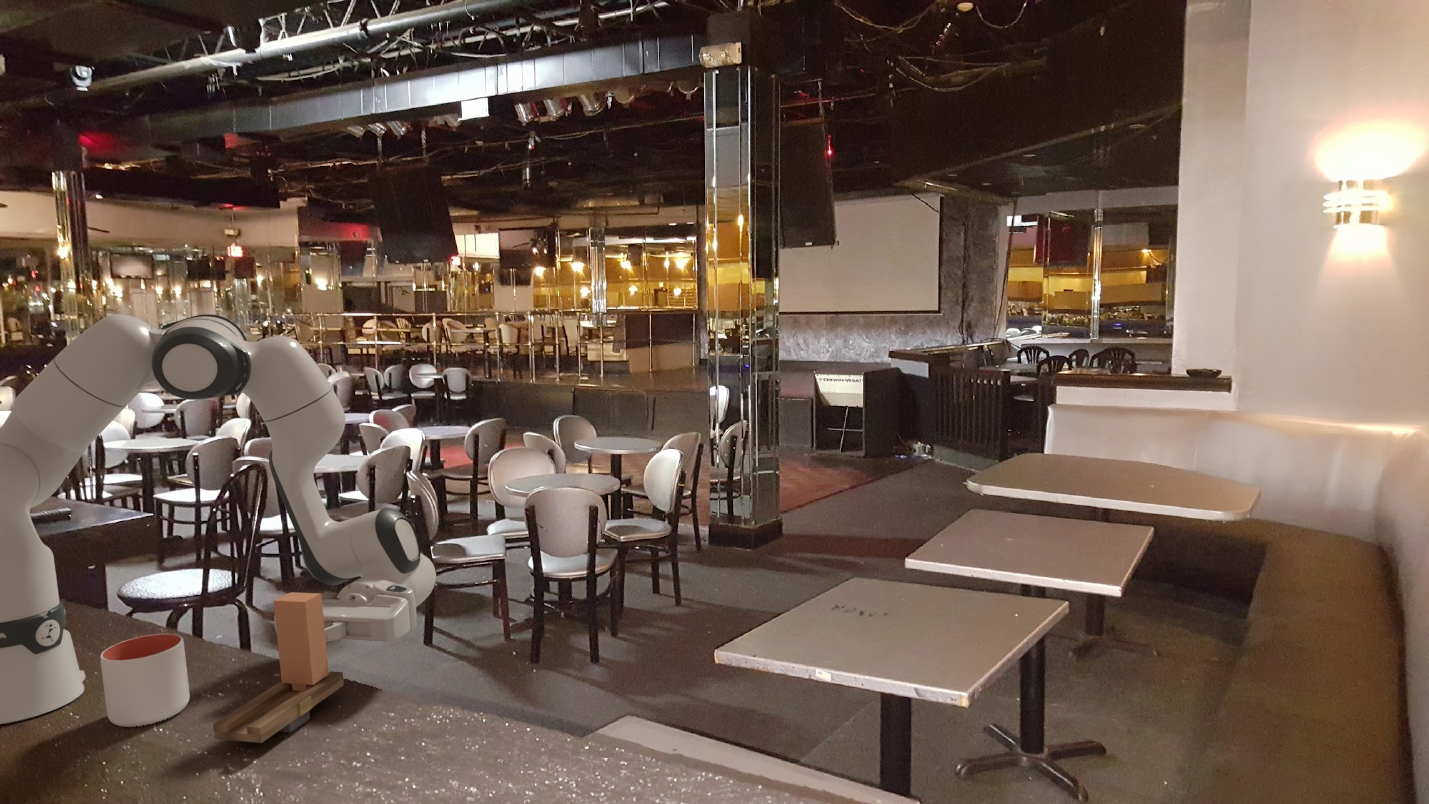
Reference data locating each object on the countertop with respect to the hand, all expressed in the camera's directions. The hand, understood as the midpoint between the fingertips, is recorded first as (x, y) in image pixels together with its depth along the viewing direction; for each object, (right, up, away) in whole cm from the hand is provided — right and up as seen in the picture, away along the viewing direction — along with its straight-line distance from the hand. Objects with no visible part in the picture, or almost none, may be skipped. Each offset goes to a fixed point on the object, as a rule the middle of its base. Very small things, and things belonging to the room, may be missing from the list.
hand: (309, 639), depth 130 cm
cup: (-23, -11, -1) cm, 25 cm away
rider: (0, -7, -1) cm, 7 cm away
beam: (-1, -10, -5) cm, 12 cm away
